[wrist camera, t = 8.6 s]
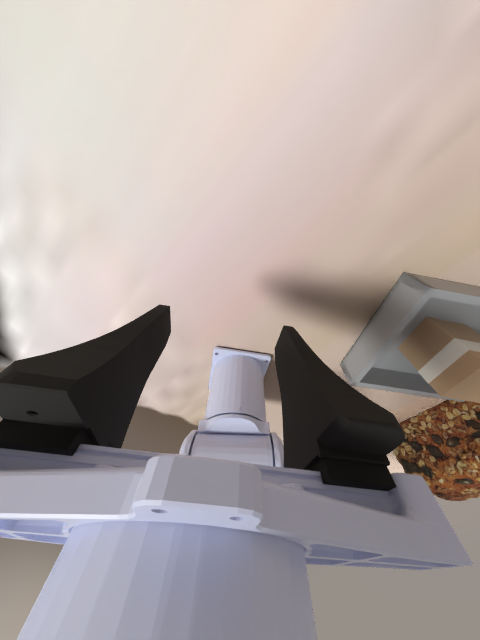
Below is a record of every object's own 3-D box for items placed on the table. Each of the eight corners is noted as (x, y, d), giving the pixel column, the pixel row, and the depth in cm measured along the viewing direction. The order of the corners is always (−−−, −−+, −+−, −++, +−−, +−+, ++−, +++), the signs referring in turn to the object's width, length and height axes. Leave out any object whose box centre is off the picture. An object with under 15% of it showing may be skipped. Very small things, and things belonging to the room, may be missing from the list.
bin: (442, 380, 29) (463, 402, 26) (339, 364, 28) (350, 385, 25) (542, 298, 21) (587, 317, 18) (403, 272, 20) (429, 287, 17)
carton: (432, 354, 26) (484, 404, 20) (397, 348, 25) (439, 396, 20) (466, 324, 23) (537, 371, 17) (426, 316, 23) (485, 362, 17)
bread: (414, 443, 41) (454, 508, 33) (378, 428, 38) (413, 496, 30) (525, 399, 31) (622, 476, 23) (488, 376, 29) (584, 454, 20)
